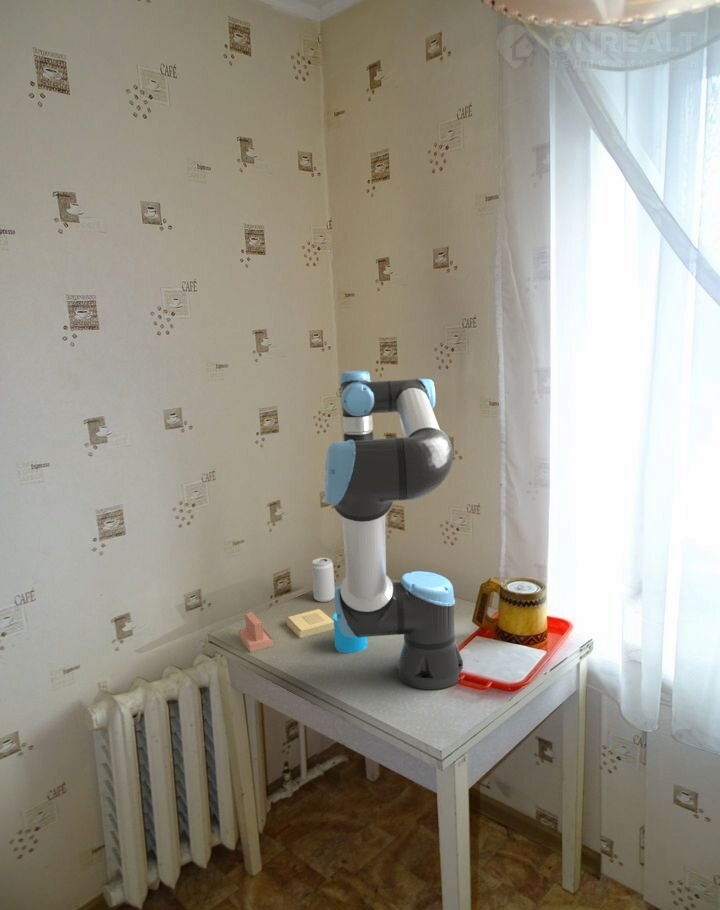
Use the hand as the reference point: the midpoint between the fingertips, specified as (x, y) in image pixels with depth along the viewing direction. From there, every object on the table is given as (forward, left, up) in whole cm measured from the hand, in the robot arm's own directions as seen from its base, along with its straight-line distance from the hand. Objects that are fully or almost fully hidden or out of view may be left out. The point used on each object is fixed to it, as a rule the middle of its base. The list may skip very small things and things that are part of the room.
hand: (363, 520), depth 176 cm
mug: (-6, +9, -30) cm, 31 cm away
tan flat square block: (+8, +14, -29) cm, 33 cm away
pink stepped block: (+8, +29, -29) cm, 42 cm away
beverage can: (+23, +3, -30) cm, 38 cm away
